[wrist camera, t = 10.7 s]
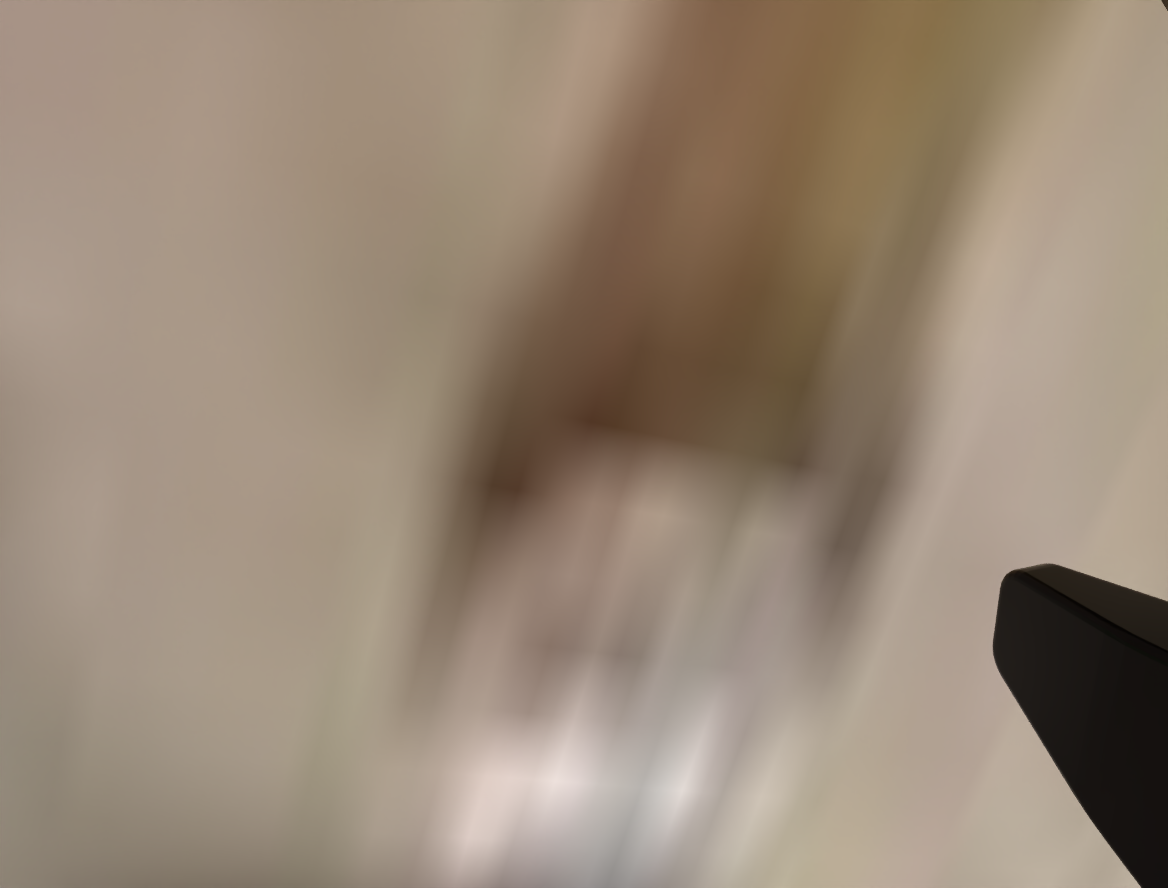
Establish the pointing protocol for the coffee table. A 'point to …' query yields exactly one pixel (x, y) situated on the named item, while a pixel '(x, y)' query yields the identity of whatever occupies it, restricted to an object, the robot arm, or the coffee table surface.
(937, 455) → the coffee table surface
